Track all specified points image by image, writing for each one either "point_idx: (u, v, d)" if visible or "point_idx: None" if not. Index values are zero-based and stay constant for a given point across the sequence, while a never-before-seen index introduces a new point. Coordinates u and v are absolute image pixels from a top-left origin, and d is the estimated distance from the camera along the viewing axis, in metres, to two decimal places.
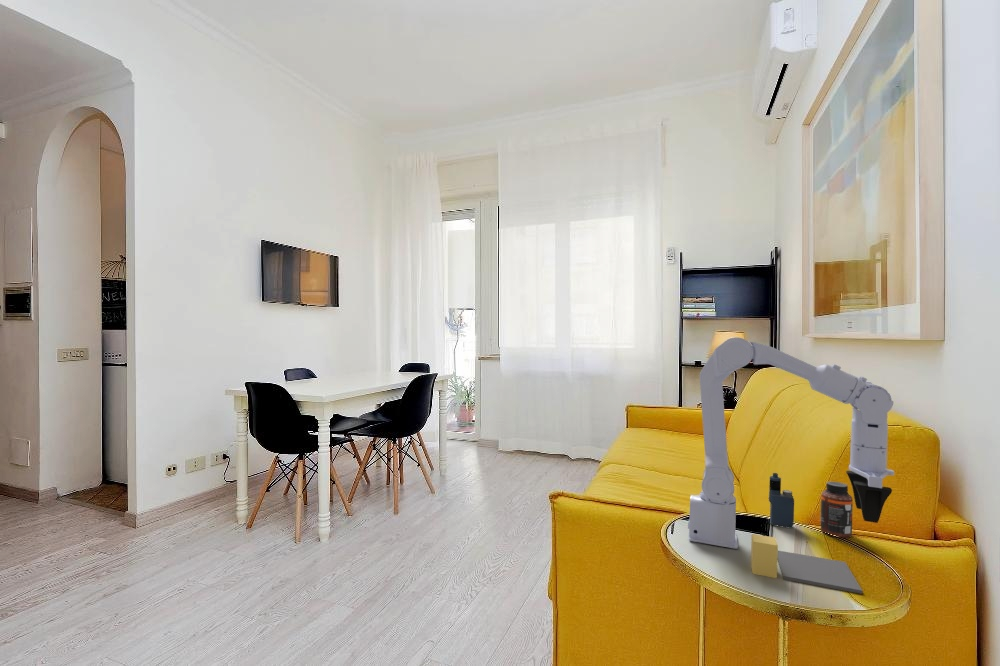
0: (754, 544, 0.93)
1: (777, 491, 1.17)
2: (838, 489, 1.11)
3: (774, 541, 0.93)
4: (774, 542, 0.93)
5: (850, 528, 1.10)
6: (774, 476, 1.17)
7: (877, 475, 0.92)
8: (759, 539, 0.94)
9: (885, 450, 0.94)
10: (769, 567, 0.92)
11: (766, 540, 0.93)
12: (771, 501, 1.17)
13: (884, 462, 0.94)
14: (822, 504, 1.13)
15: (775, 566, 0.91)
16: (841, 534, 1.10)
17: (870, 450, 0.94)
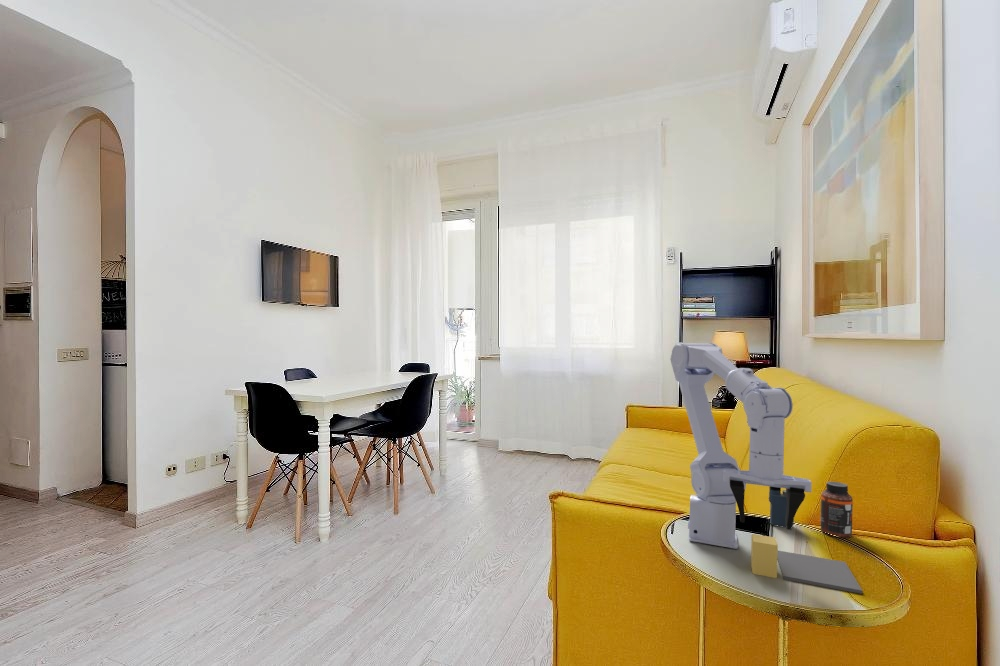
0: (754, 544, 0.93)
1: (777, 491, 1.17)
2: (838, 489, 1.11)
3: (774, 541, 0.93)
4: (774, 542, 0.93)
5: (850, 528, 1.10)
6: None
7: (738, 474, 0.95)
8: (759, 539, 0.94)
9: (758, 455, 0.92)
10: (769, 567, 0.92)
11: (766, 540, 0.93)
12: (771, 501, 1.17)
13: (756, 467, 0.92)
14: (822, 504, 1.13)
15: (775, 566, 0.91)
16: (841, 534, 1.10)
17: None
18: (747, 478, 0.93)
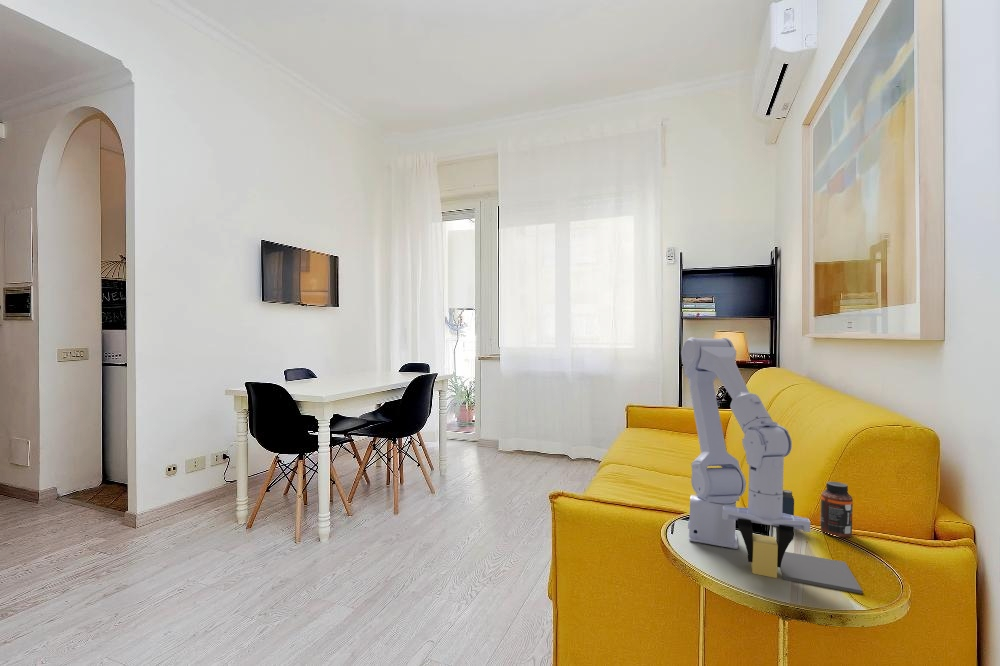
0: (754, 544, 0.93)
1: None
2: (838, 489, 1.11)
3: (774, 541, 0.93)
4: (774, 542, 0.93)
5: (850, 528, 1.10)
6: None
7: (737, 511, 0.95)
8: (759, 539, 0.94)
9: (757, 494, 0.92)
10: (769, 566, 0.92)
11: (766, 540, 0.93)
12: None
13: (755, 506, 0.92)
14: (822, 504, 1.13)
15: (775, 566, 0.91)
16: (841, 534, 1.10)
17: None
18: (746, 517, 0.93)
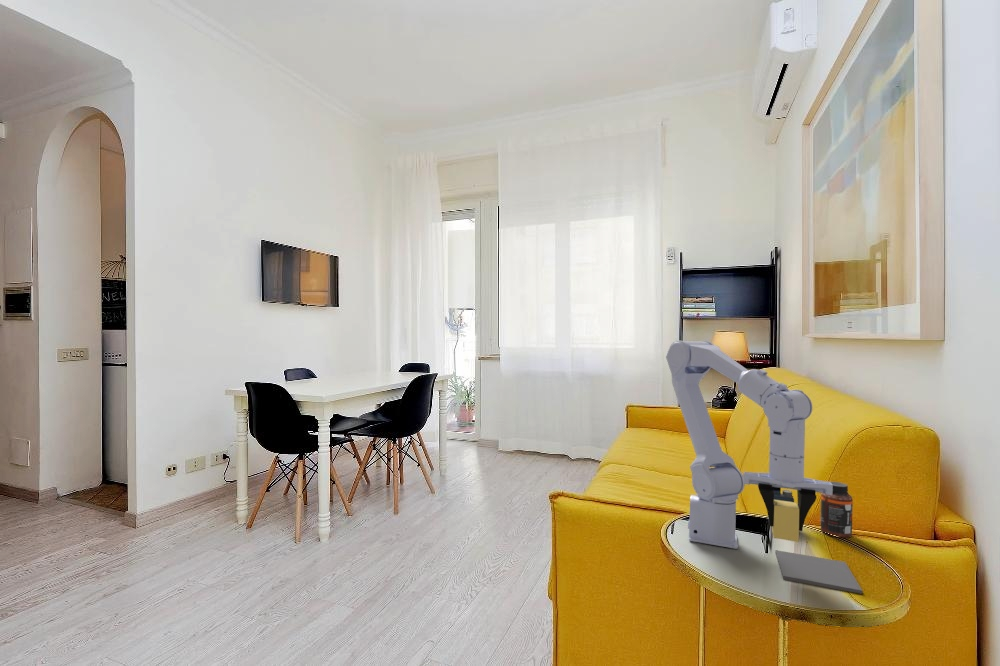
0: (775, 508, 0.93)
1: (777, 491, 1.17)
2: (838, 489, 1.11)
3: (795, 505, 0.93)
4: (795, 506, 0.92)
5: (850, 528, 1.10)
6: None
7: None
8: (780, 504, 0.94)
9: (778, 458, 0.92)
10: (791, 531, 0.92)
11: (787, 504, 0.93)
12: None
13: (777, 470, 0.92)
14: (822, 504, 1.13)
15: (797, 530, 0.91)
16: (841, 534, 1.10)
17: (769, 455, 0.95)
18: (767, 480, 0.93)
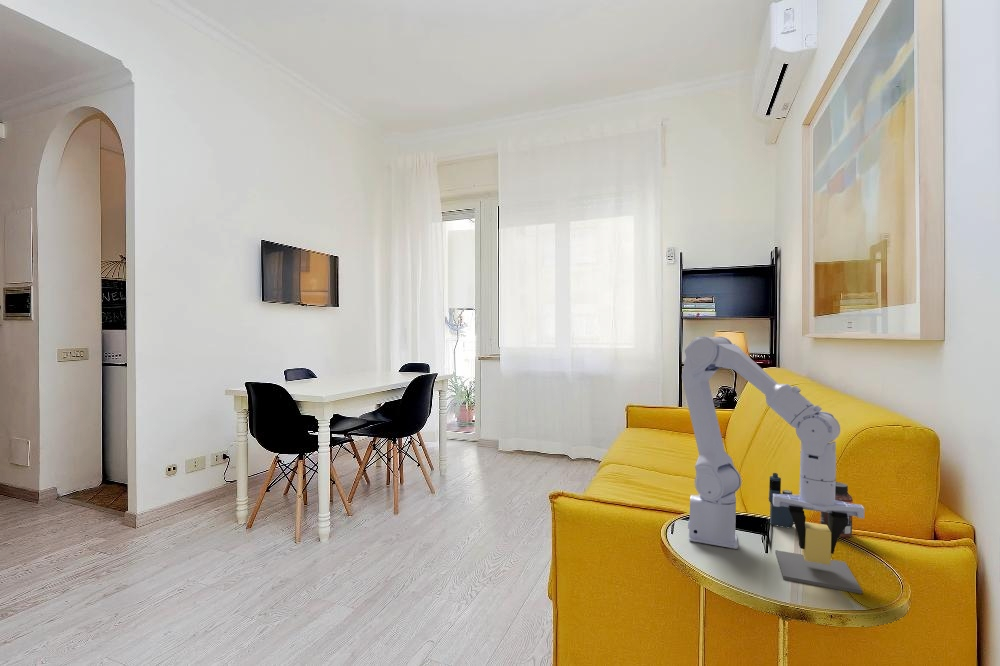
0: (807, 531, 0.93)
1: (777, 491, 1.17)
2: (838, 489, 1.11)
3: (827, 528, 0.93)
4: (827, 529, 0.93)
5: (850, 528, 1.10)
6: (774, 476, 1.17)
7: (788, 498, 0.95)
8: (811, 526, 0.94)
9: (809, 481, 0.92)
10: (823, 554, 0.92)
11: (818, 527, 0.93)
12: (771, 501, 1.17)
13: (808, 493, 0.93)
14: None
15: (829, 553, 0.91)
16: (841, 534, 1.10)
17: (800, 477, 0.95)
18: (798, 503, 0.93)
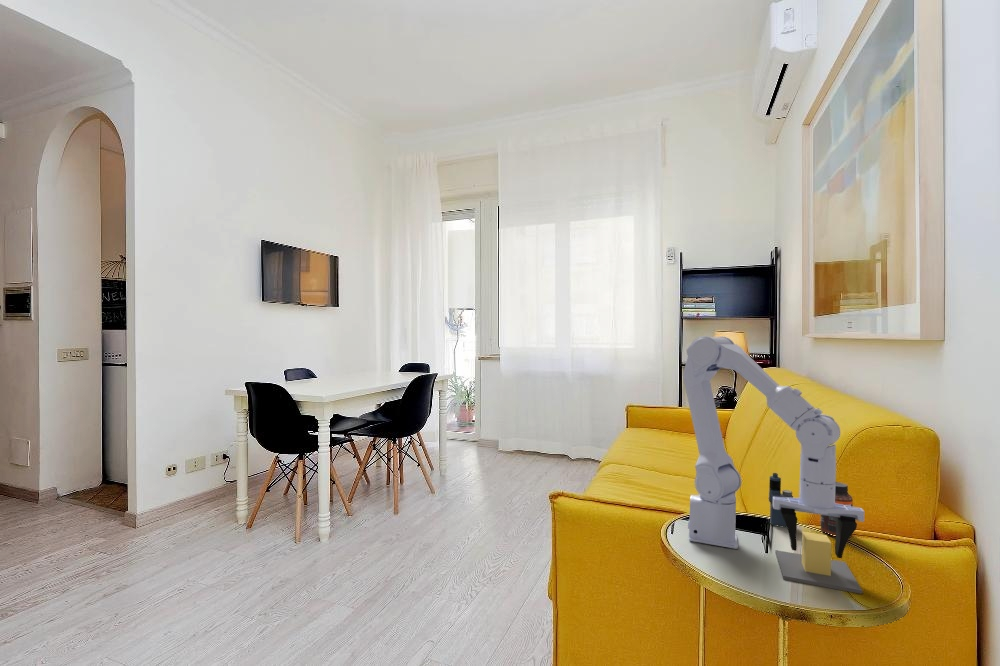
0: (807, 542, 0.93)
1: (777, 491, 1.17)
2: (838, 489, 1.11)
3: (827, 539, 0.93)
4: (827, 540, 0.93)
5: None
6: (774, 476, 1.17)
7: (788, 501, 0.95)
8: (811, 537, 0.94)
9: (809, 484, 0.92)
10: (823, 564, 0.92)
11: (818, 538, 0.93)
12: (771, 501, 1.17)
13: (808, 496, 0.93)
14: None
15: (829, 564, 0.91)
16: None
17: None
18: (798, 506, 0.93)
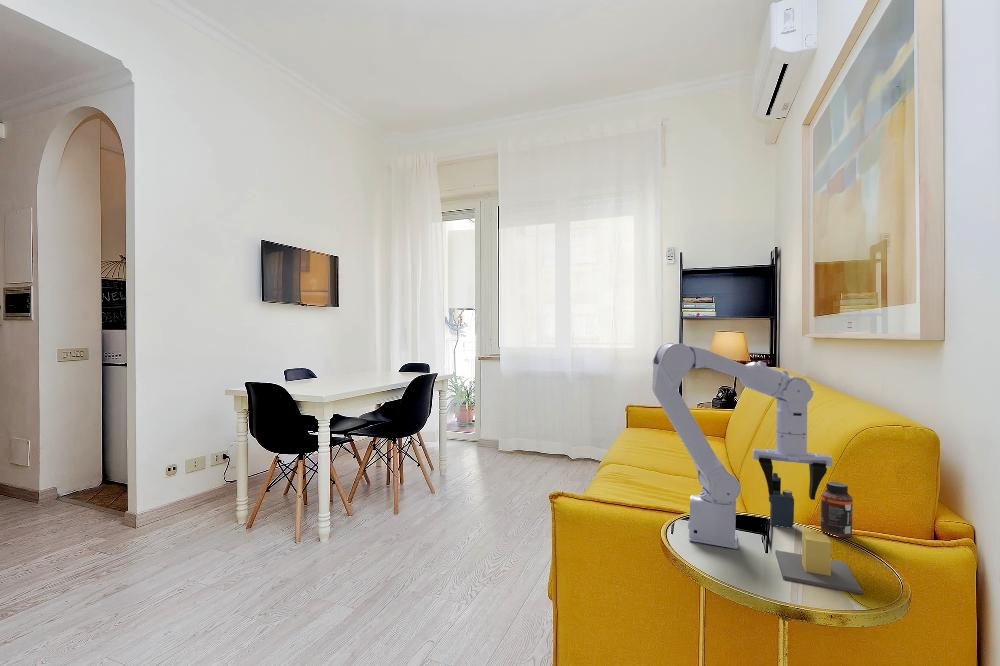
0: (807, 542, 0.93)
1: (777, 491, 1.17)
2: (838, 489, 1.11)
3: (827, 539, 0.93)
4: (827, 540, 0.93)
5: (850, 528, 1.10)
6: (774, 476, 1.17)
7: (766, 452, 1.07)
8: (811, 537, 0.94)
9: (784, 435, 1.05)
10: (823, 564, 0.92)
11: (818, 538, 0.93)
12: (771, 501, 1.17)
13: (783, 446, 1.05)
14: (822, 504, 1.13)
15: (829, 564, 0.91)
16: (841, 534, 1.10)
17: (776, 433, 1.07)
18: (775, 455, 1.06)
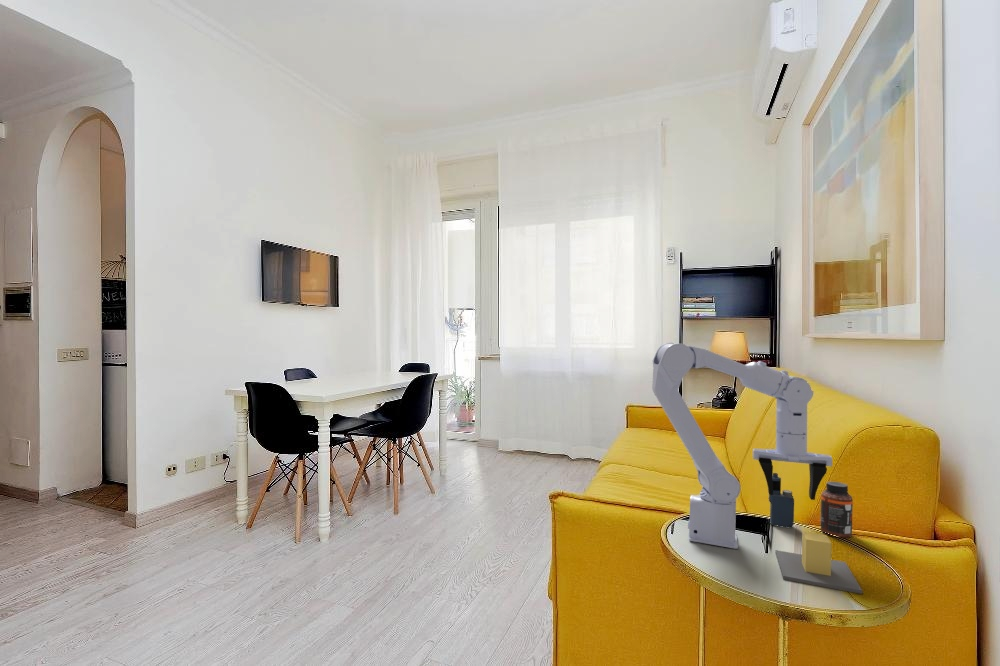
0: (807, 542, 0.93)
1: (777, 491, 1.17)
2: (838, 489, 1.11)
3: (827, 539, 0.93)
4: (827, 540, 0.93)
5: (850, 528, 1.10)
6: (774, 476, 1.17)
7: (766, 452, 1.07)
8: (811, 537, 0.94)
9: (784, 435, 1.05)
10: (823, 564, 0.92)
11: (818, 538, 0.93)
12: (771, 501, 1.17)
13: (783, 446, 1.05)
14: (822, 504, 1.13)
15: (829, 564, 0.91)
16: (841, 534, 1.10)
17: (776, 433, 1.07)
18: (775, 455, 1.06)
